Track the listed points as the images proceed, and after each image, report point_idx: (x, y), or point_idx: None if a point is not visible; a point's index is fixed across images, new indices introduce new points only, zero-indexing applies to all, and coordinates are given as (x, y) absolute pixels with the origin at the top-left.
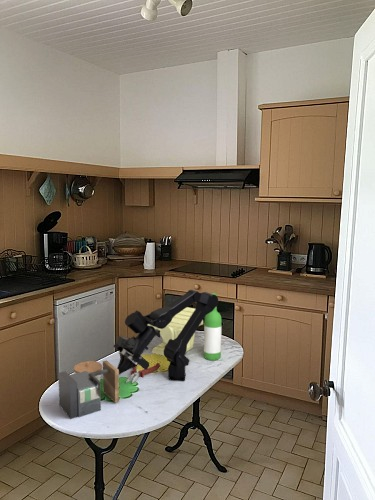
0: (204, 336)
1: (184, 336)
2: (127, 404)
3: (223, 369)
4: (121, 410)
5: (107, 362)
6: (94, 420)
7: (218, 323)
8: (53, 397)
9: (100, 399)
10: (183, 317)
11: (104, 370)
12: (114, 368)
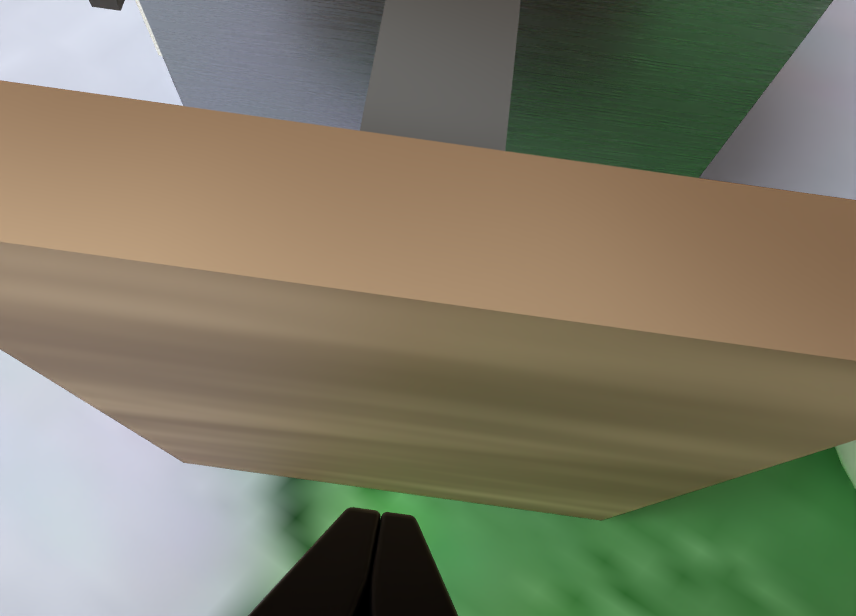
0: None
1: None
2: (55, 535)
3: None
4: (5, 371)
5: (780, 292)
6: (102, 50)
7: None
8: (828, 8)
9: (185, 105)
10: None
11: (438, 86)
12: (36, 162)
